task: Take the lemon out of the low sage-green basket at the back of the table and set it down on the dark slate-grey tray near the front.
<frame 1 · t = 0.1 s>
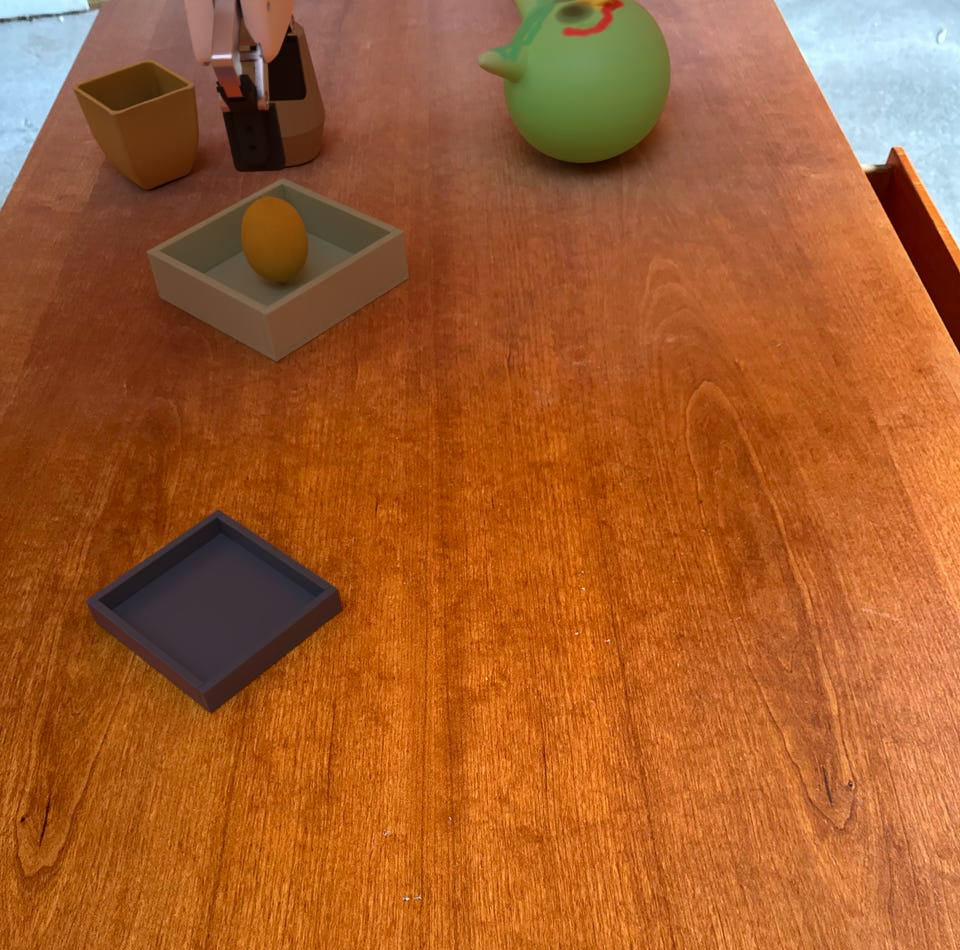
hand: (273, 132, 77), 21 cm above the table, tool pointing down, fingers open, 9 cm apart
lemon: (283, 284, 103), resting on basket
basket: (284, 287, 103), on the table
squeeze bottle: (292, 156, 120), on the table
toy bird: (580, 149, 117), on the table
flower pot: (158, 176, 119), on the table
tray: (218, 615, 78), on the table
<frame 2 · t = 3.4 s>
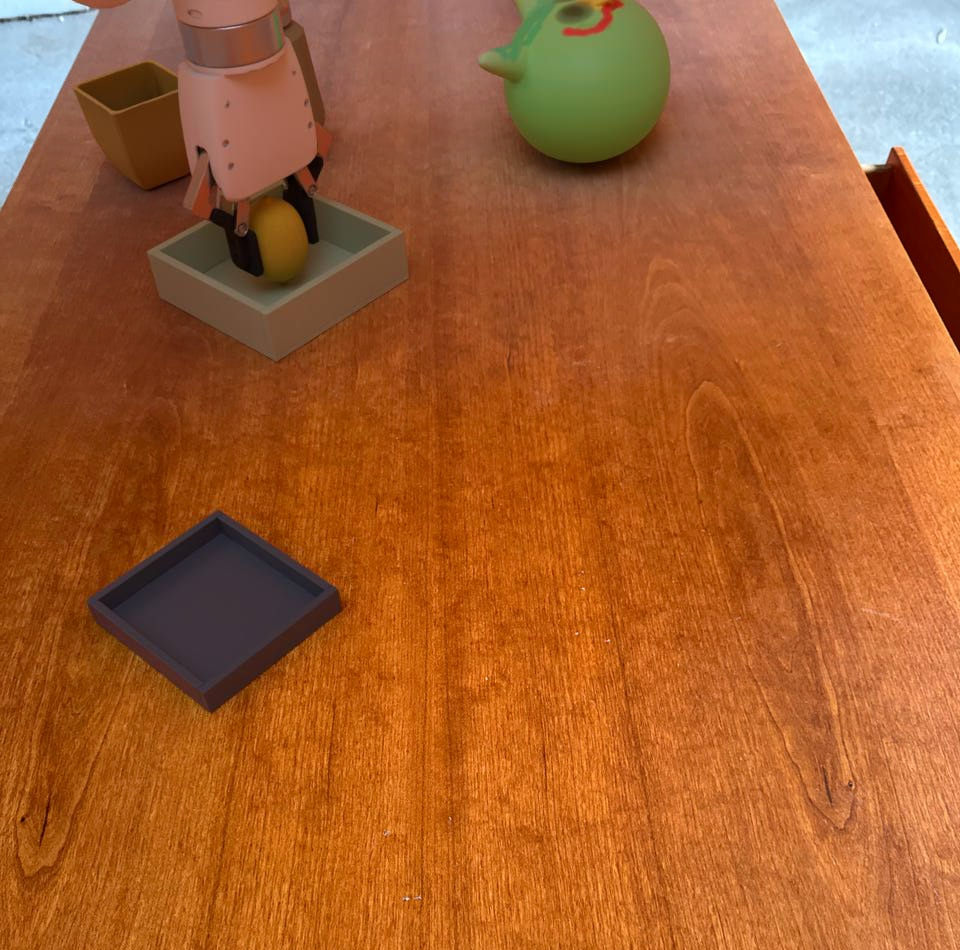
hand: (277, 252, 101), 3 cm above the table, tool pointing down, fingers closed on lemon, 5 cm apart
lemon: (283, 284, 103), resting on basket, touching gripper
everything else where it was.
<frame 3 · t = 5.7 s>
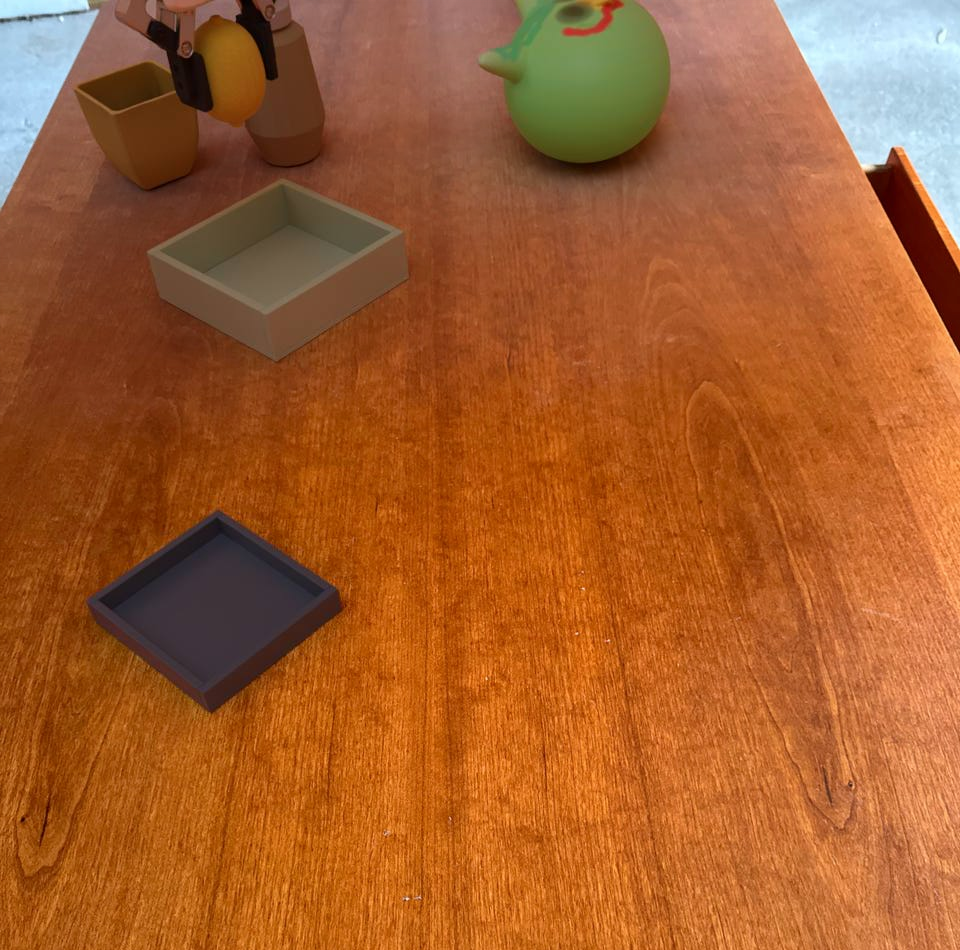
hand: (229, 88, 87), 19 cm above the table, tool pointing down, fingers closed on lemon, 5 cm apart
lemon: (238, 129, 89), point 16 cm above the table, touching gripper
everything else where it was.
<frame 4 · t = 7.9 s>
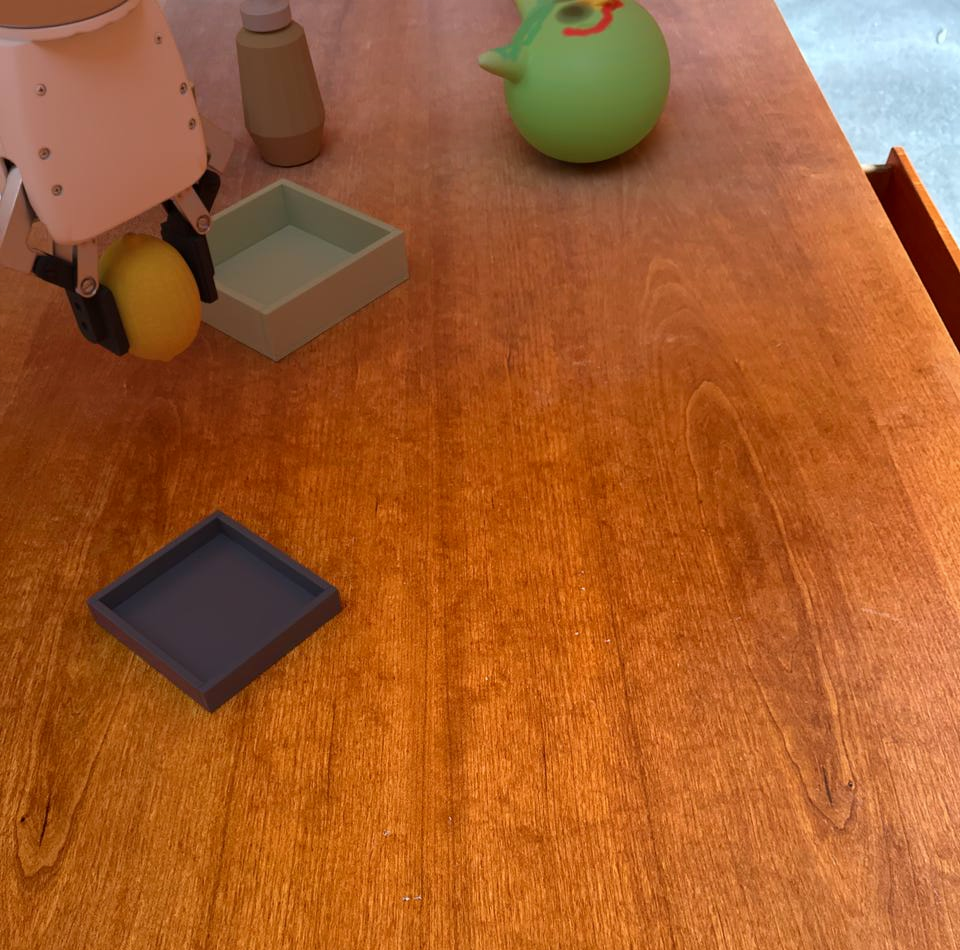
hand: (153, 316, 67), 19 cm above the table, tool pointing down, fingers closed on lemon, 5 cm apart
lemon: (168, 362, 69), point 16 cm above the table, touching gripper
everything else where it was.
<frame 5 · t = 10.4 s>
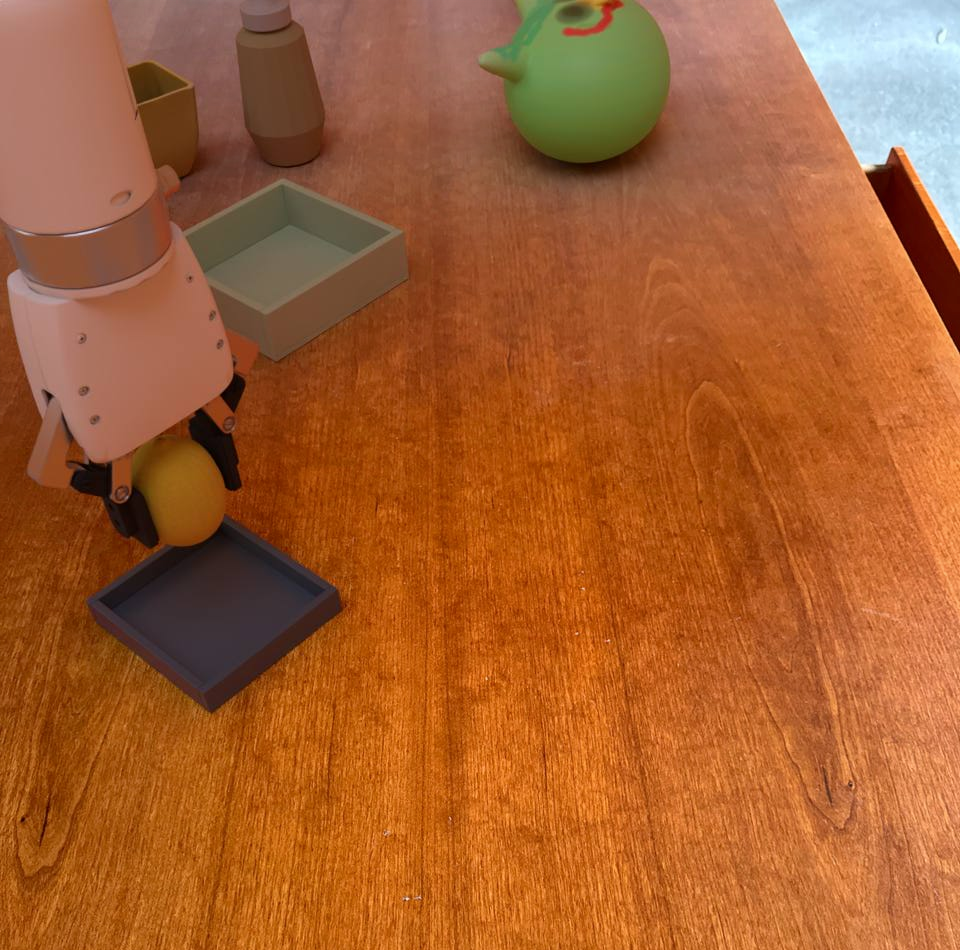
hand: (181, 505, 71), 10 cm above the table, tool pointing down, fingers closed on lemon, 5 cm apart
lemon: (194, 543, 73), point 7 cm above the table, touching gripper
everything else where it was.
when the fingers open (3 cm above the table, at t = 12.4 s): lemon stays where it is, resting on tray.
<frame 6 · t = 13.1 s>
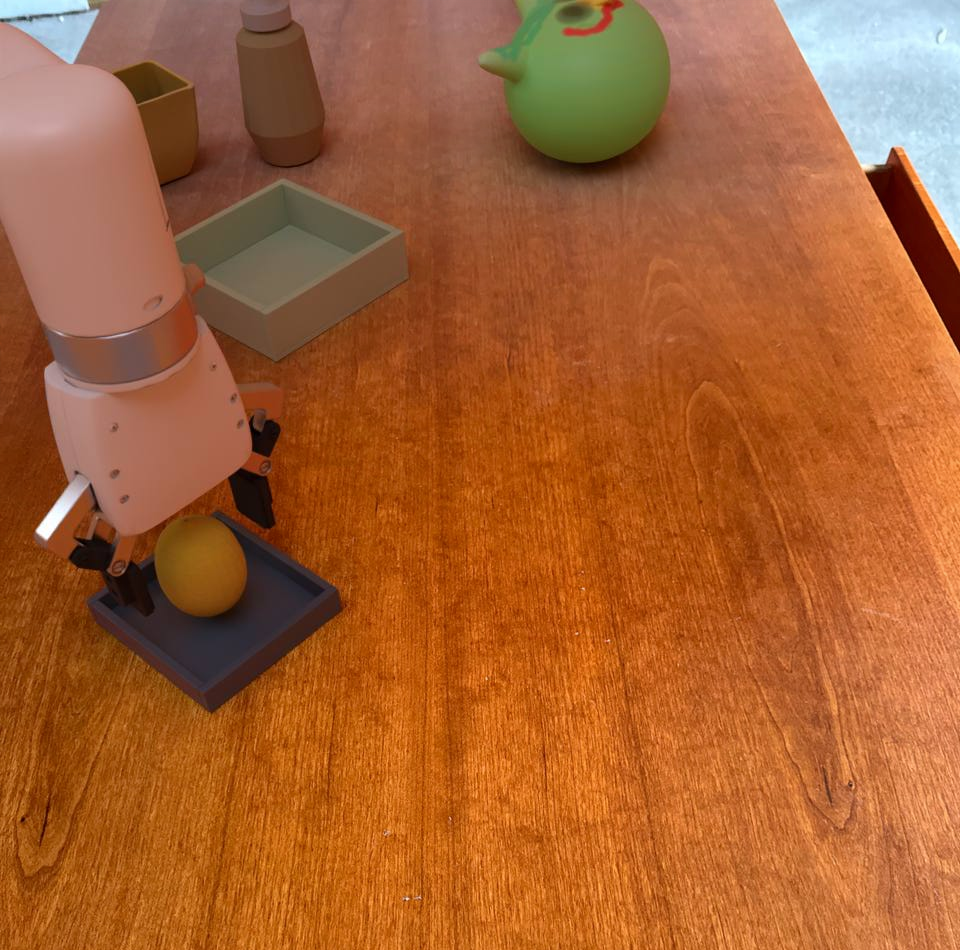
hand: (198, 559, 74), 5 cm above the table, tool pointing down, fingers open, 9 cm apart
lemon: (216, 611, 78), resting on tray
everything else where it was.
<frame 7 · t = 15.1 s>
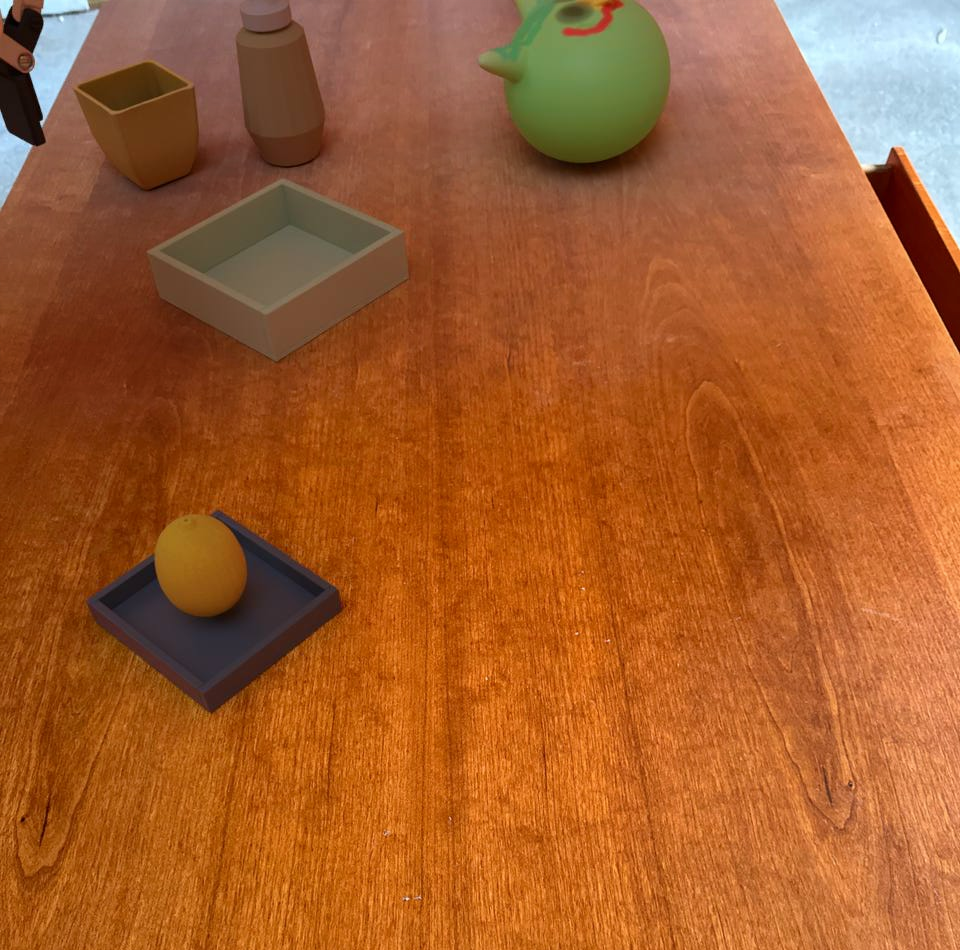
nothing on the table moved.
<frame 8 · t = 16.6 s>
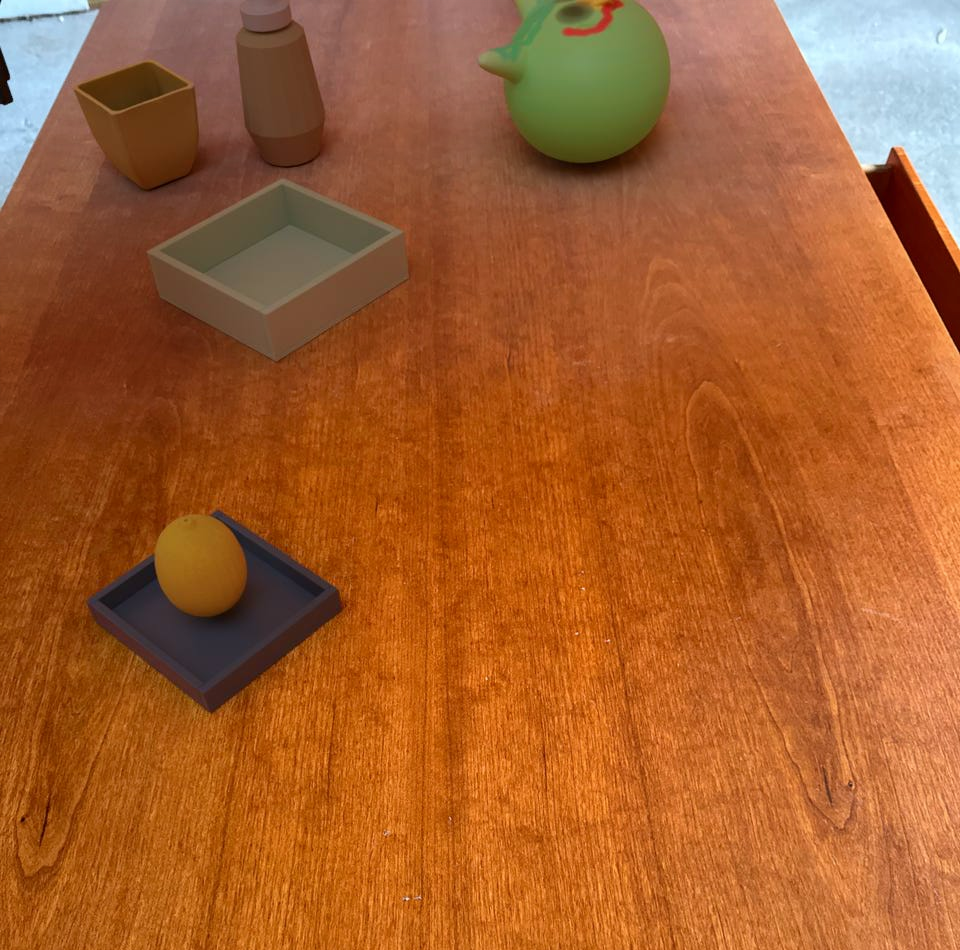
nothing on the table moved.
at the end: lemon inside the target area in the tray (0.1 cm from its centre), point 0.3 cm above the tray's base; the gripper is holding nothing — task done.
